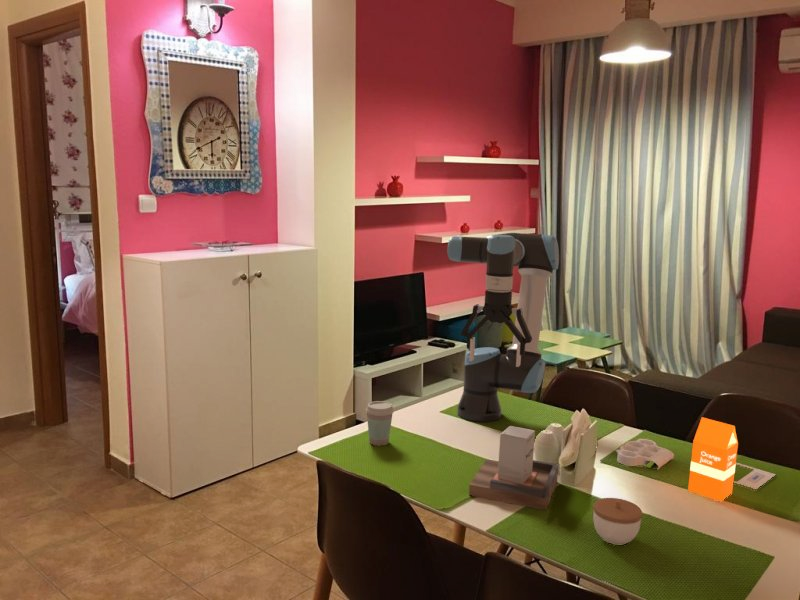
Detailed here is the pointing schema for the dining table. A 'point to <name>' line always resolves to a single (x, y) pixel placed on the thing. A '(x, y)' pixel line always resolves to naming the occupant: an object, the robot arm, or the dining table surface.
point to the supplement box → (516, 454)
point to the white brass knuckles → (643, 453)
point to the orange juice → (713, 459)
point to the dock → (516, 485)
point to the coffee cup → (379, 422)
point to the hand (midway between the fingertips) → (494, 362)
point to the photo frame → (754, 477)
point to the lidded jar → (616, 520)
